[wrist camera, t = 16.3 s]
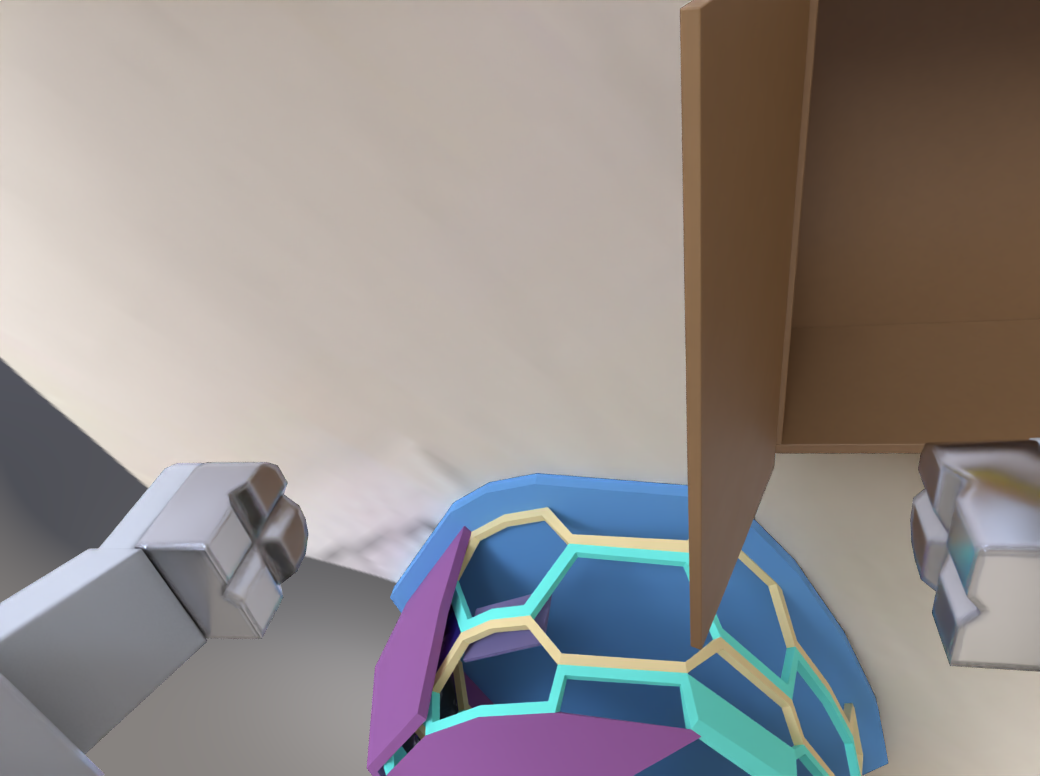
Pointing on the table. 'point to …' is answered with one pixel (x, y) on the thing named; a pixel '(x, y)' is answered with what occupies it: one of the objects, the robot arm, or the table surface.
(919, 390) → the carton
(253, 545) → the robot arm
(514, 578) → the stadium
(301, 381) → the table surface
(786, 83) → the flap
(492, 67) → the table surface
